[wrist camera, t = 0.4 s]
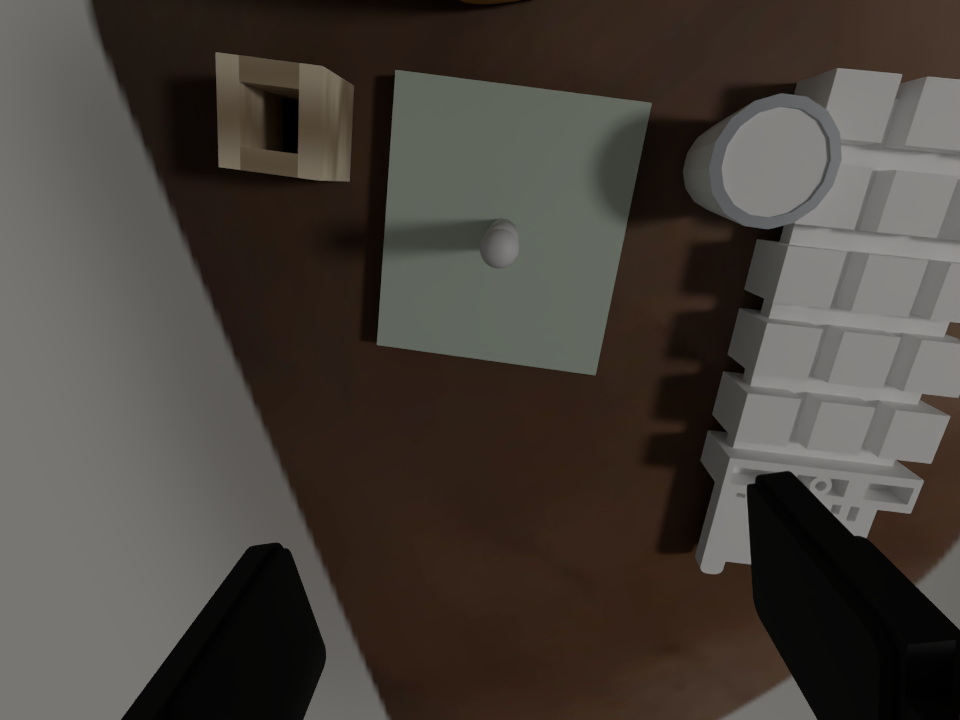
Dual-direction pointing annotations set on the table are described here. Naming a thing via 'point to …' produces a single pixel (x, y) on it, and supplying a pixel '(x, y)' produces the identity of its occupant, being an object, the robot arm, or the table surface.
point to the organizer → (848, 319)
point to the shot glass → (765, 162)
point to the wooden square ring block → (259, 118)
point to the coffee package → (487, 1)
